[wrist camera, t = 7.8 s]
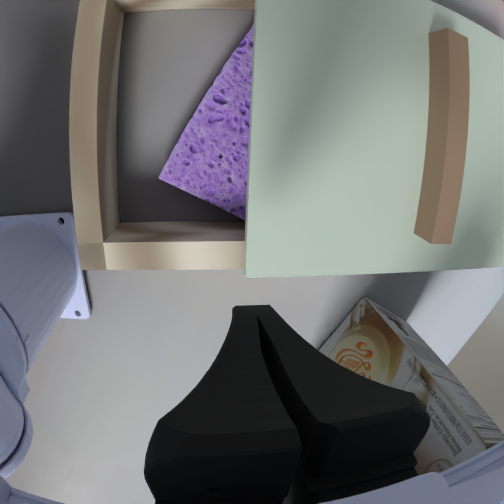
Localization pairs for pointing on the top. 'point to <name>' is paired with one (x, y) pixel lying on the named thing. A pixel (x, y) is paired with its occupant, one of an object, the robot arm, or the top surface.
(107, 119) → the box
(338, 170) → the lid
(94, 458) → the top surface
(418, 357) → the coffee box
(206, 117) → the sponges
